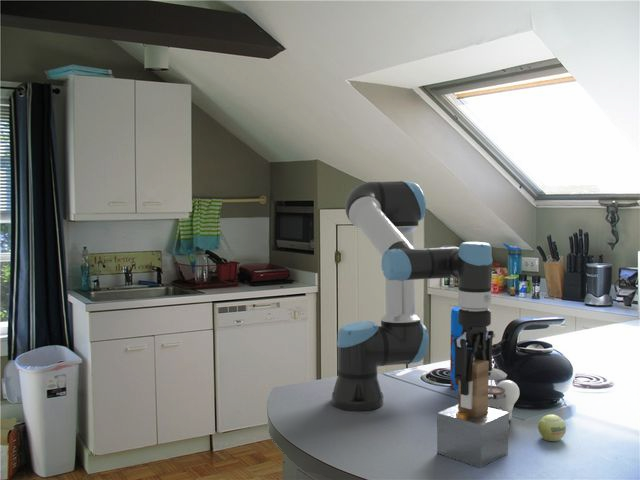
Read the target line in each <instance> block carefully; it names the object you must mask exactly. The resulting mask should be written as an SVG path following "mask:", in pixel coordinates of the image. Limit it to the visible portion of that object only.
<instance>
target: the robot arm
mask: <svg viewBox="0 0 640 480" xmlns="http://www.w3.org/2000/svg"><path fill="white" fill-rule="evenodd" d="M344 203H345V204H344V208H345V209H344V210H345V215H346V216H347V218H348V220H349V222H350V223H351V224H352V225H353V226H354V227H356V228H358V229H360V230H361V231H362V232H363V234H364V235H365V236H366V238H367V239H368V240H369V242H370V243H371V244H372V246H374V248H375V249H376V250H377V252H378V253H379V255H380V256H381V270H382V272H383V276H384V279H385V281H384V282H385V285H384V286H385V287H384V288H385V314H384V315H383V316H382V317H381V318H380V326H379V325H378V324H377V323H376V321H375V322H374V321H372V320H371V321H368V320H367V321H362V320H361V321H356V322H355V321H354V322H350V323H346V324H345V325H343V326H341V327H340V328H339V329H338V331H337V341H336V346H337V347H336V348H337V377H336V381H335V384H334V386H333V387H334V388H333V391H332V393H331V404H332V405H333V406H334V407H336V408H337V409H340V410H341V409H342V410H345V411H346V410H347V411H354V412H355V411H357V412H358V411H370V410H376V409H379V408H380V407H382V406H383V404H384V394H383V392H382V389H381V386H380V382H379V378H378V368H379V367H387V366H396V365H397V366H398V365H405V366H407V365H410V364H415V363H416V364H417V363H420V362H421V361H422V360H423V359H424V358H425V356H426V355H427V352H428V348H429V333H428V328H427V326H426V325H425V324H424V323H422V322H421V318H420V317H419V316H418V315H417V314H416V299H415V297H416V296H415V292H416V291H415V281H416V280H429V279H430V280H432V279H434V280H435V279H450V278H451V279H452V278H453V279H456V280H457V279H458V294H457V295H458V297H457V298H458V299H457V300H458V301H457V305H458V306H459V307H461V308H460V309H459V310H458V323H459V324H460V325H461V326H462V327H463V328H462V333H461V337H459V338H454V344H455V379H457V380H460V381H461V407H464V408H467V409H472V394H473V381H470V380H471V373H472V364H473V360H474V356H475V359H480V360H486V361H489V371H491V370H492V368H493V334H495V333H494V330H489V329H487V327H490V326H491V324H492V311H491V309H490V308H491V306H492V299H493V297H492V281H493V280H492V279H493V275H492V274H493V257H492V256H493V255H492V246H491V244H490V243H489V242H480V241H465V242H461V243H460V245H459V246H455V245H442V246H440V247H430V248H429V247H424V248H423V247H422V248H421V247H420V248H415V243H414V239H415V238H414V234H415V233H414V232H415V231H416V230H417V229H418V228H419V222H420V221H422V220H423V219H424V218H425V216H426V214H425V213H426V212H427V204H426V203H427V202H426V198H425V195H424V192H423V190H422V188H421V187H420V185H419V184H418V183H416V182H413V181H405V180H404V181H403V180H400V181H366V182H363V183H361V184H358V185H357V186H355V187H354V188H352V190H350V192H349V194H348V196H347V197H346V200H345V202H344ZM458 306H457V307H458ZM469 348H472V349H469ZM490 375H491V372H489V376H490Z"/></svg>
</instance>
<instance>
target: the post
mask: <svg viewBox="0 0 640 480" xmlns="http://www.w3.org/2000/svg"><path fill="white" fill-rule="evenodd" d="M470 381H473V394H472V409H467V408H464V407H461V381H460V380H459V391H458V395H457V396H458V402H457V403H458V404H457V405H458V412H460V411H462V412H466V413H468V416H470V417H474V418H479V417H481V416H483V415H486V414H488V406H489V405H488V397H489V395H488V386H489V361H486V360H480V359H475V358H474V360H473V364H472V373H471V380H470Z"/></svg>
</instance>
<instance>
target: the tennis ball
mask: <svg viewBox="0 0 640 480" xmlns="http://www.w3.org/2000/svg"><path fill="white" fill-rule="evenodd" d="M537 426H538V427H537V429H538V432H539V434H540V436H541V437H543V440H544V441H548V442H558V441H560V440H561V439H562V438H563V437H565V434H566V431H567V427H566V424H565V421H564V419H562V418H561V417H560V416H558V415H556V414H552V413H551V414H547V415H544V416H543V417H541V419H540V420H539V422H538V425H537Z"/></svg>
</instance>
